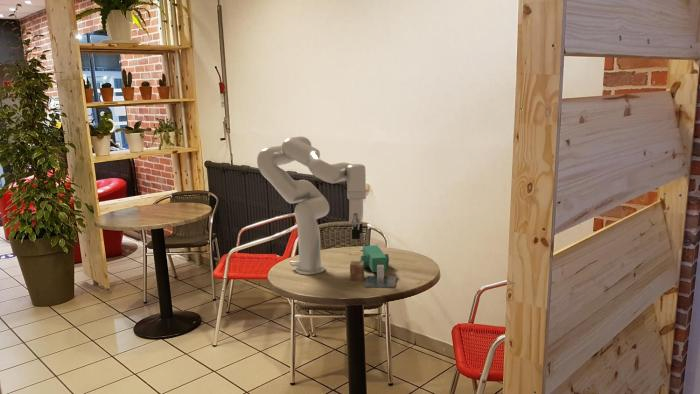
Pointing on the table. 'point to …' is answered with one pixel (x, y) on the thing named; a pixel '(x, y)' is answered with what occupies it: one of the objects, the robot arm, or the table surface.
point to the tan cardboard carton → (357, 271)
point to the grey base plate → (380, 279)
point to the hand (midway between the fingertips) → (357, 235)
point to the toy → (374, 257)
